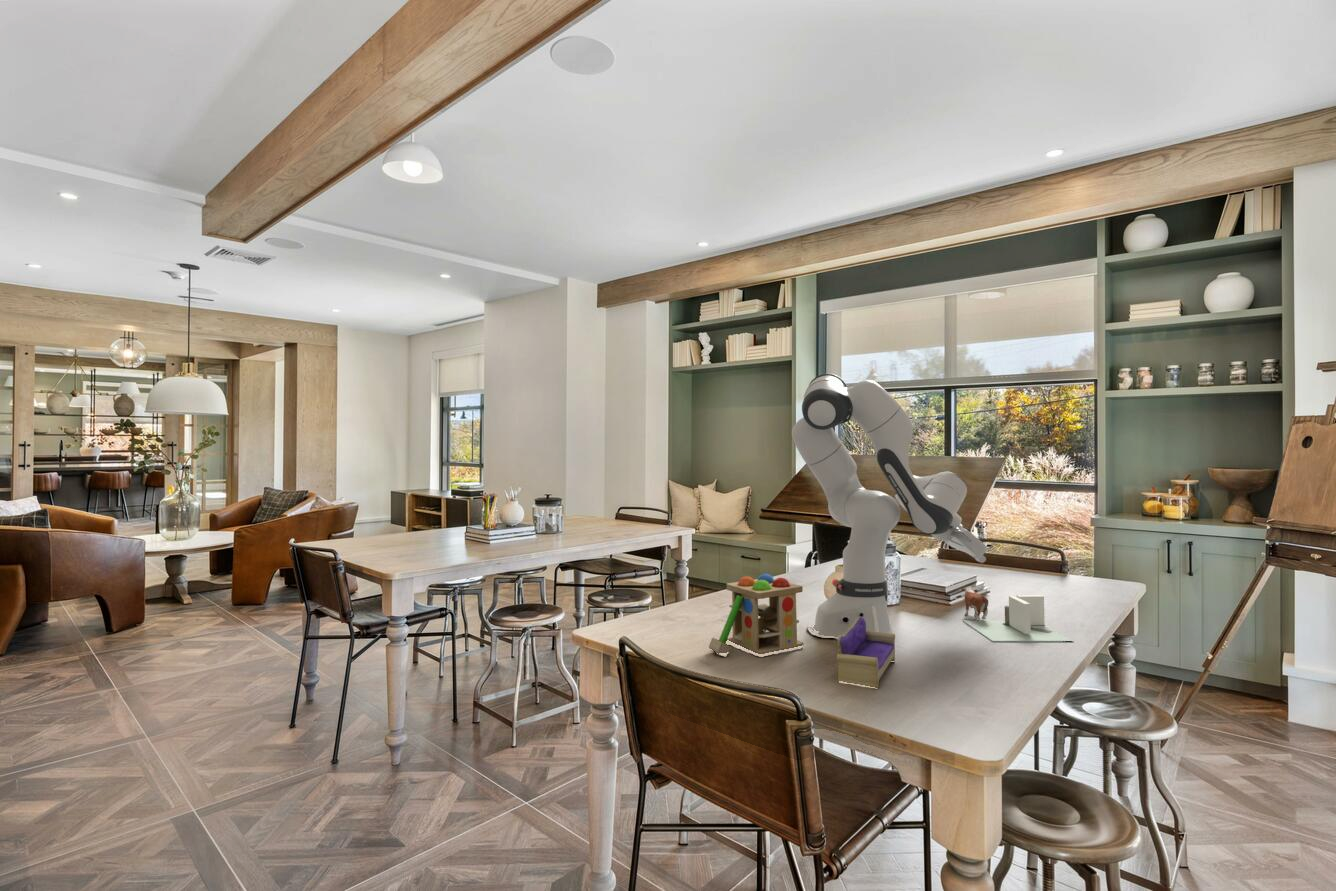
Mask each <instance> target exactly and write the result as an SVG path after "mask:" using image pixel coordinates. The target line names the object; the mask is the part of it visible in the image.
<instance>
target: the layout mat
mask: <svg viewBox="0 0 1336 891" xmlns="http://www.w3.org/2000/svg"><path fill="white" fill-rule="evenodd" d="M963 621H964V622H965V624H966V625H967V624H968V625H967V626H969V627H970V626H971V627H970V628H971V629H973V630H974V631H976V632H977V633H979V634H980V633H981V634H980V635H982V636H983V635H984V637H985V638H986V637H987V638H986V639H988V640H989V639H990V641H991V642H992V643H1066V642H1065V641H1074V640H1073V639H1072V638H1070V637H1067V636H1065V635H1063V634H1061V632H1057V631H1056V630H1054V629H1052V628H1050V627H1048V626H1047V625H1046V624H1045V625H1031V634H1024V633H1022V632H1020V631H1019V630H1017V629H1015V628H1014V627H1012V626H1010V625H1006V624H1005V620H979V621H977V620H963ZM964 622H963V623H964ZM1063 641H1064V642H1063Z"/></svg>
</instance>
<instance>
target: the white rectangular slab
mask: <svg viewBox="0 0 1336 891" xmlns="http://www.w3.org/2000/svg"><path fill="white" fill-rule="evenodd" d="M1008 606H1009V625H1010V626H1012V627H1014V628H1015V629H1017V630H1019V631H1020V632H1022V633H1024V634H1031V623H1030V603H1028V602H1026V601H1023V600H1021V599H1019V598H1017V597H1016V596H1015V595H1008Z"/></svg>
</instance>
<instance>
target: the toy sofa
mask: <svg viewBox="0 0 1336 891" xmlns="http://www.w3.org/2000/svg"><path fill="white" fill-rule="evenodd" d="M836 640H837V652H838V653H837V654H836V661H837V679H838V680H837V682H838V681H843V682H847V683H854V684H860V685H865V686H870V687H875V688H878V687H879V685H880V684H879V683H880V682H879V681H880V679H881V678H882V676H883V674H884V673H885V671H886V669H887V668H888V666H889V665H890V663H891V661H895V662H896V649H895V648H896V645H895V644H896V643H895V642H896V641H895V640H896V634H895V633H892V634H891V633H882V632H873V631H866V622H865V620H864V619H863V618H862V617H857V618H856V620H855V622H854V623H853V624H852V626H851V627H850V628H849V629H848V630H847V631H846V632H845V633H844V634H843V635H842V636H841V635H839V636H838V639H836ZM879 688H880V687H879Z"/></svg>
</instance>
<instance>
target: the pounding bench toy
mask: <svg viewBox="0 0 1336 891" xmlns="http://www.w3.org/2000/svg"><path fill="white" fill-rule="evenodd" d="M726 590H727V591H730V592H732V595H731V596H732V597H731V599H732V603H731V604H729V606H728V607H729V608H731V609H730V612H729V614H728V617H727V619H726V621H725V624H724V625H723V626H724V627H723V629H722V631H721V634H720V636H719V639H717V638H715V637H712V638H711V640H710V642H709V646H708V648H709V650H710V649H712V650H713V651H715V652H716V653H718V654H719V653H727V652H729V653H730V651H731V649H732V647H731V646H729V645H727V644H726V641H727V640H729V641H731V642H733V643H735V644H737V645H740V646H742V647H744V648H746V649H748V650H751V651H753V652H755V653H758V654H765V653H769V652H774V651H779V650H784V649H789V648H794V647H798V646H802V645H804V642H803V641H800V640H798V629H797V628H798V627H797V624H798V623H800V620H799V619H797V594H799V593H803V590H804V589H803V586H802V585H799V584H795V583H792V582H791V583H790V582H789V580H788V579H787V578H785V577H778V578H776V579H775V578H774V577H773V575H771V574H769V573H763V574H760V575H759V576H758V578H755V579H754V578H753V577H751V576H747V575H746V576H743V577H741V578H740V579H739V580H738V581H735V582H727V583H726ZM760 599H761V600H762V599H768V601H769V602H768V603H769V605H768V604H766V603H762V604H759V600H760ZM731 630H732V637H729V635H730V633H731ZM804 646H805V645H804ZM712 650H711V651H712ZM713 651H712V652H713ZM715 652H714V653H715ZM716 653H715V654H716ZM718 654H717V655H718Z"/></svg>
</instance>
